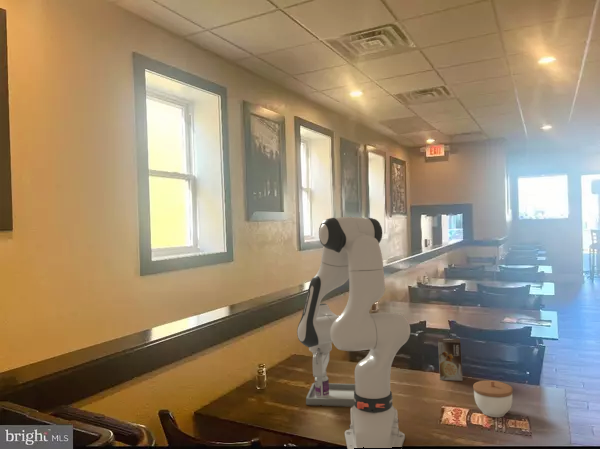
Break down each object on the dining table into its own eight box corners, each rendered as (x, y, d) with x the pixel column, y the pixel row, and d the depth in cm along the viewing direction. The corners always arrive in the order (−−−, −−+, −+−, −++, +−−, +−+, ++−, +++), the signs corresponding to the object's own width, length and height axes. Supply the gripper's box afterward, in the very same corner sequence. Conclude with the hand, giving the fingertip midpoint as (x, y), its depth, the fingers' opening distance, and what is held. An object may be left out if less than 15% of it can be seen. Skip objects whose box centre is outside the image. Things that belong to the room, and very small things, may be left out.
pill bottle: (328, 392, 183) (327, 368, 183) (329, 398, 177) (328, 373, 177) (315, 393, 183) (314, 369, 182) (315, 399, 177) (314, 374, 177)
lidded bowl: (466, 409, 164) (465, 378, 164) (494, 402, 168) (493, 372, 168) (492, 423, 152) (491, 390, 152) (522, 416, 156) (520, 384, 156)
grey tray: (362, 407, 169) (362, 400, 169) (306, 404, 173) (305, 398, 173) (364, 390, 185) (364, 384, 185) (313, 388, 189) (312, 382, 189)
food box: (461, 376, 197) (460, 338, 196) (462, 381, 191) (461, 342, 190) (439, 374, 199) (438, 337, 199) (439, 379, 193) (438, 341, 193)
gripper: (324, 352, 169) (326, 390, 169) (331, 338, 189) (333, 372, 189) (307, 352, 170) (309, 390, 170) (316, 338, 190) (317, 372, 190)
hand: (322, 381), depth 179 cm, fingers open, 8 cm apart
